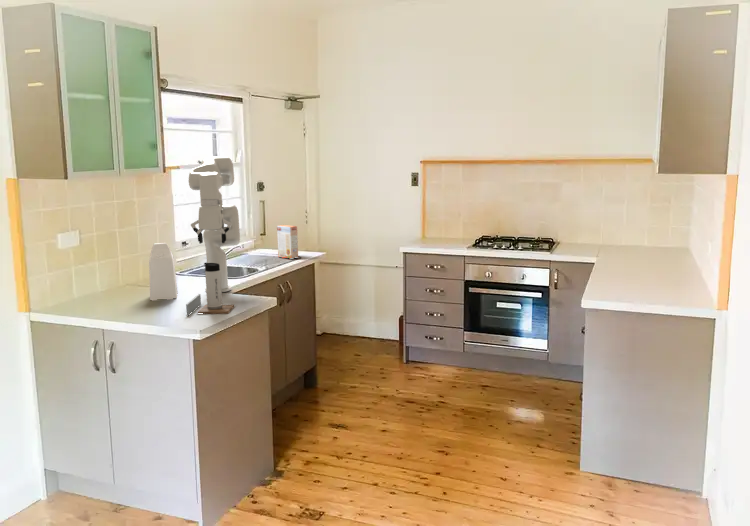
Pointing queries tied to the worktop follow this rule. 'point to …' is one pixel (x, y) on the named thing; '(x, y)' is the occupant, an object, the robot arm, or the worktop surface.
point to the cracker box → (287, 241)
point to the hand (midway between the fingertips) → (212, 242)
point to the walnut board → (223, 310)
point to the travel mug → (213, 286)
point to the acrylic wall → (193, 304)
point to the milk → (162, 273)
